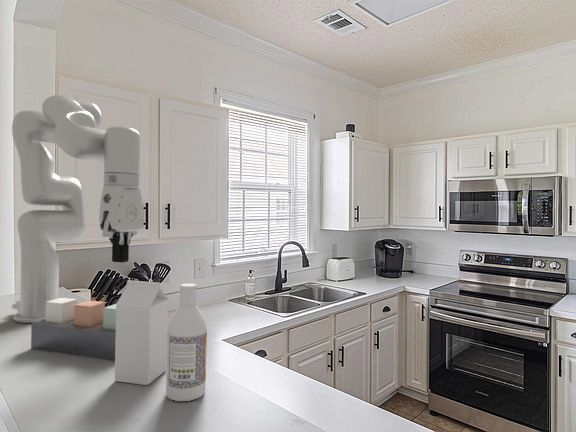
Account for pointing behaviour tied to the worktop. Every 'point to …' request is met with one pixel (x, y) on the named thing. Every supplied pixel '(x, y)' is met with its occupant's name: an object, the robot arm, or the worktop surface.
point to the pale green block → (109, 317)
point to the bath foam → (186, 349)
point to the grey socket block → (74, 339)
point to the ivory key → (60, 310)
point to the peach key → (88, 313)
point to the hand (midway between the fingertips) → (120, 261)
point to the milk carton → (141, 333)
